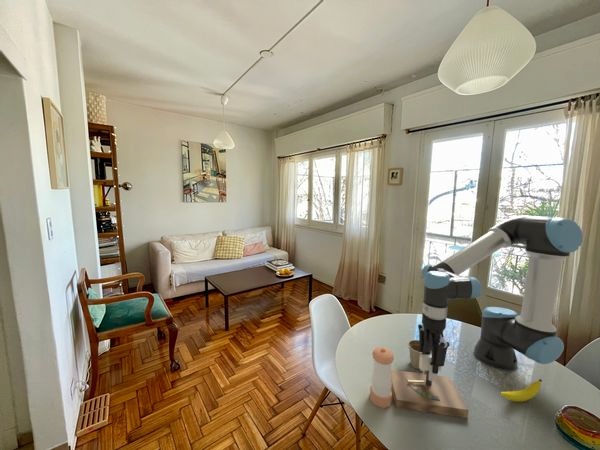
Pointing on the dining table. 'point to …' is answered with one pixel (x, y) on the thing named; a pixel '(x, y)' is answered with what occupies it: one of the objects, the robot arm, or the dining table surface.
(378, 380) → the salt shaker
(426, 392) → the tuner board
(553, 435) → the dining table surface
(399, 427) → the dining table surface
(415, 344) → the flower pot
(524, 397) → the banana
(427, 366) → the white angular block
